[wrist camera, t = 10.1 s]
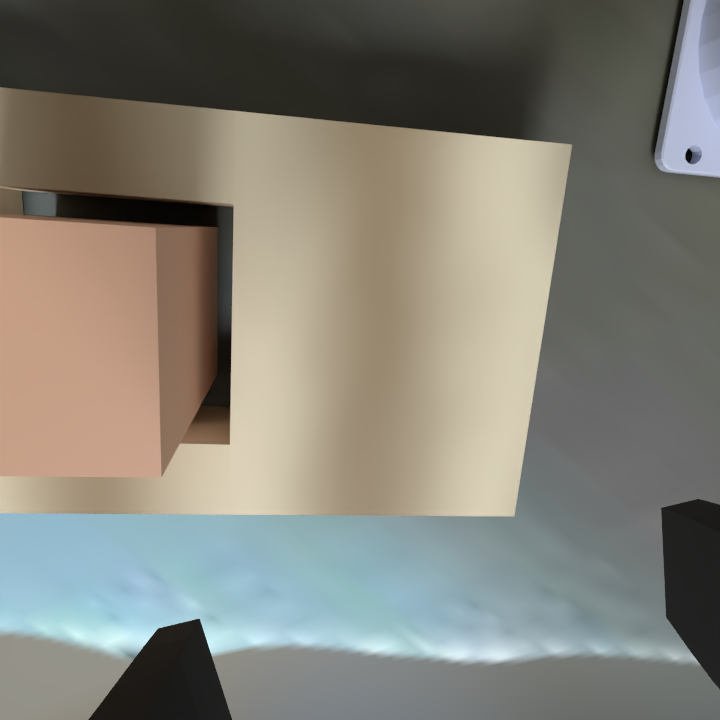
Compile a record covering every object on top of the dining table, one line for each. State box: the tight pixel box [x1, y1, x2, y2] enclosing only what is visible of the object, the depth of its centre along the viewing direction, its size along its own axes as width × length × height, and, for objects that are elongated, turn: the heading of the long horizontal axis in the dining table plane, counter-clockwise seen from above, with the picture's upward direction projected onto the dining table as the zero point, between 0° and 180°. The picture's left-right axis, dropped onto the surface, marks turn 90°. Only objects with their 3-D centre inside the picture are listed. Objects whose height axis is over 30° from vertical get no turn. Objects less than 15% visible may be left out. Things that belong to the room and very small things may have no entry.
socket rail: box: [0, 87, 572, 516], centre depth 14 cm, size 22×10×3 cm, turn 86°
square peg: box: [0, 214, 218, 478], centre depth 12 cm, size 4×4×7 cm
